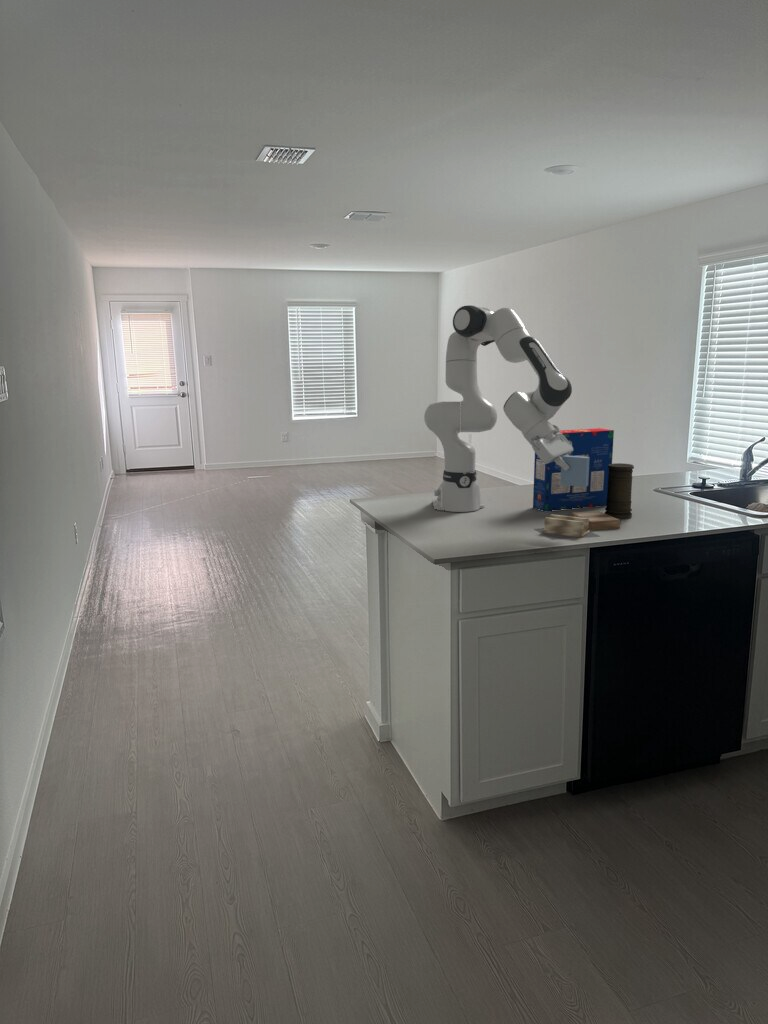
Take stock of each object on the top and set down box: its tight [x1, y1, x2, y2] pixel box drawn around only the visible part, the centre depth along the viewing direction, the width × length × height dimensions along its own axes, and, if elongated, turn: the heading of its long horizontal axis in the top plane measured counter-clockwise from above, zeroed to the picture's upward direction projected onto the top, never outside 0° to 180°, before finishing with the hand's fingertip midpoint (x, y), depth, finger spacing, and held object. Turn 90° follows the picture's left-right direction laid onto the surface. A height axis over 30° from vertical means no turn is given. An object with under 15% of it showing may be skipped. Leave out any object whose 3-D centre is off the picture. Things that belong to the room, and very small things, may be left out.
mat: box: [533, 527, 600, 541], centre depth 221 cm, size 14×16×1 cm
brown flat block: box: [570, 510, 621, 531], centre depth 232 cm, size 14×10×3 cm
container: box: [604, 462, 635, 520], centre depth 242 cm, size 9×9×18 cm
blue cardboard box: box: [532, 427, 615, 512], centre depth 258 cm, size 28×8×28 cm, turn 111°
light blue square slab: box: [560, 455, 590, 487], centre depth 219 cm, size 8×2×9 cm, turn 57°
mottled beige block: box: [542, 513, 591, 538], centre depth 221 cm, size 13×7×5 cm, turn 57°
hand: (570, 468), depth 220 cm, fingers closed on light blue square slab, 2 cm apart
